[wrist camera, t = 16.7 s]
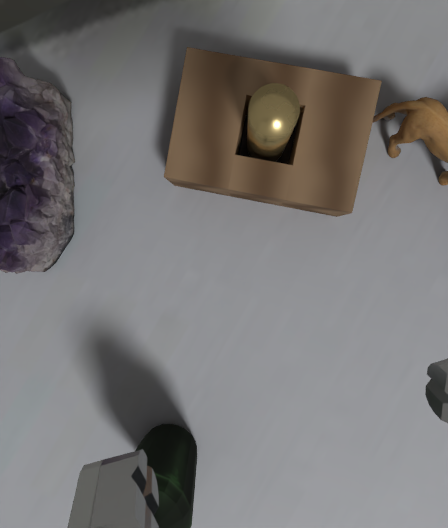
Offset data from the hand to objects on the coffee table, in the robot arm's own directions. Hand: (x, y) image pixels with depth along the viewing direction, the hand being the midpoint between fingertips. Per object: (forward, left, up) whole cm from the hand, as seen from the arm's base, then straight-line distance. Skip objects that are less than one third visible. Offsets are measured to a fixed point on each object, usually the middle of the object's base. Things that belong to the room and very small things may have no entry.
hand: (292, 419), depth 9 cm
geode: (-26, +7, -28) cm, 39 cm away
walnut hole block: (-2, +15, -28) cm, 32 cm away
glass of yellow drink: (-2, +15, -28) cm, 32 cm away
